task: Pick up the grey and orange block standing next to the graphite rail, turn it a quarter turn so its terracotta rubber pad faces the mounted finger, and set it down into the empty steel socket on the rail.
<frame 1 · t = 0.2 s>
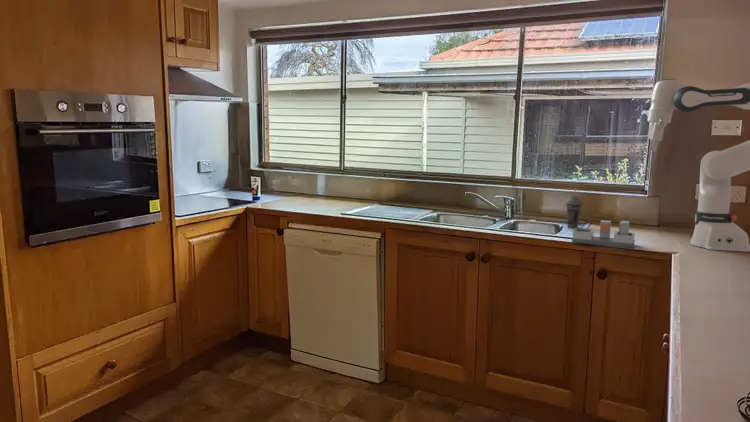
hand: (652, 150, 228), 39 cm above the counter, tool pointing down, fingers open, 8 cm apart
mounted finger: (623, 240, 223), resting on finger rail
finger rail: (602, 243, 227), on the counter
beverage cup: (572, 227, 262), on the counter
grey and orange block: (604, 239, 236), on the counter
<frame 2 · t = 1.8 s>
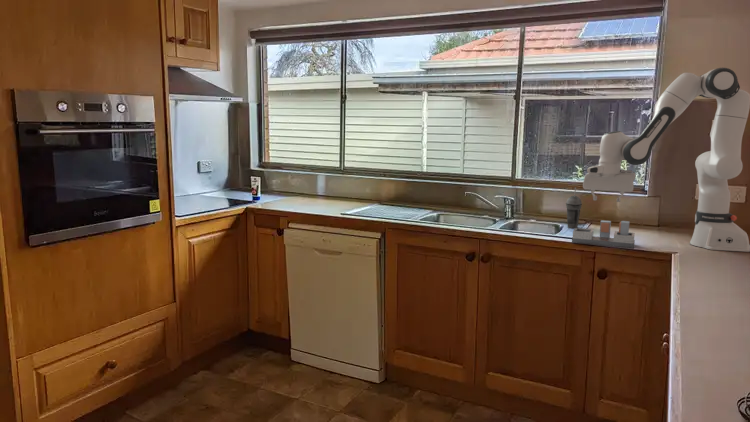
hand: (606, 200, 233), 17 cm above the counter, tool pointing down, fingers open, 8 cm apart
nothing on the counter moved.
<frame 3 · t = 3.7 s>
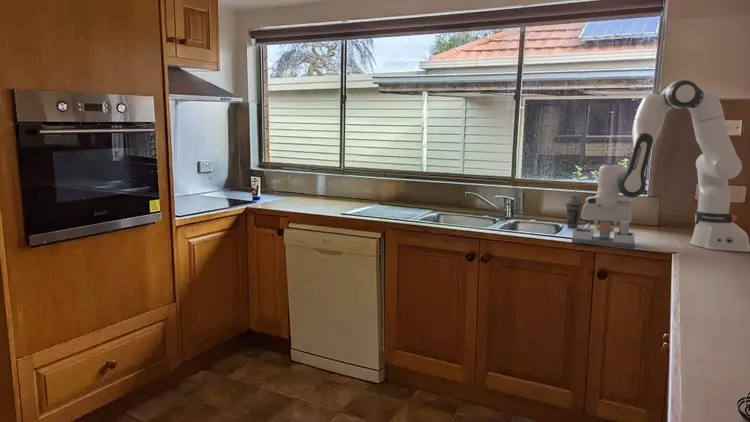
hand: (605, 231, 235), 4 cm above the counter, tool pointing down, fingers closed on grey and orange block, 4 cm apart
grey and orange block: (604, 239, 236), on the counter, touching gripper
everything else where it was.
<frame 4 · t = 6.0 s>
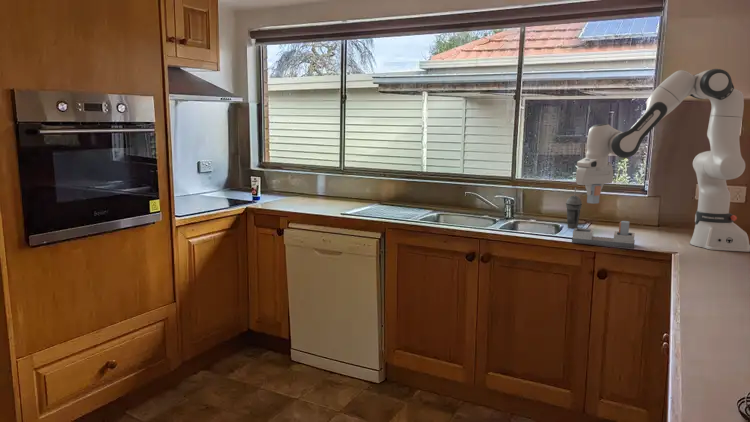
hand: (593, 194, 230), 20 cm above the counter, tool pointing down, fingers closed on grey and orange block, 4 cm apart
grey and orange block: (592, 202, 231), point 16 cm above the counter, touching gripper
everything else where it was.
when the fingers open (7 cm above the counter, at t = 8.5 s): grey and orange block drops 1 cm, resting on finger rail.
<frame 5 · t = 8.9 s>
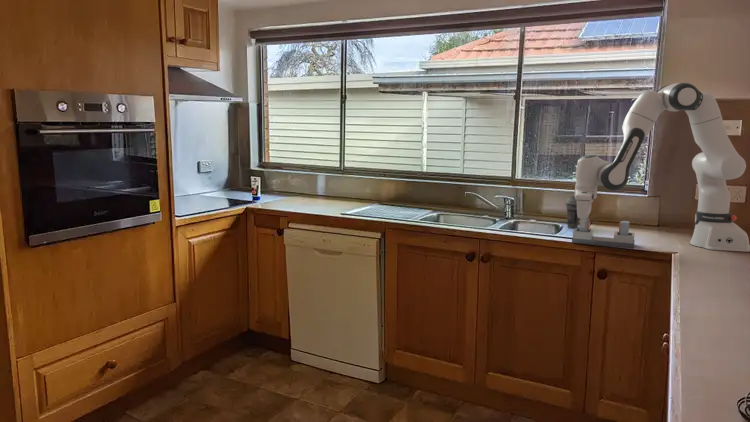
hand: (583, 225, 229), 7 cm above the counter, tool pointing down, fingers open, 8 cm apart
grey and orange block: (583, 237, 230), point 2 cm above the counter, touching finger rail
everything else where it was.
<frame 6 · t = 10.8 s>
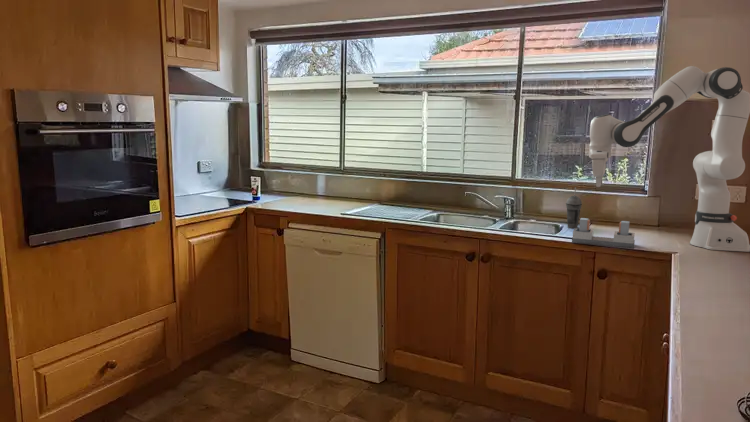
hand: (599, 185, 231), 24 cm above the counter, tool pointing down, fingers open, 8 cm apart
nothing on the counter moved.
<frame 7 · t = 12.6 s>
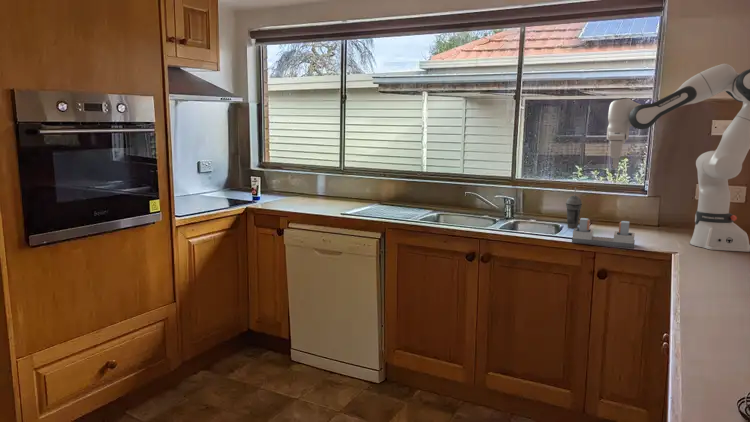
hand: (615, 167, 237), 31 cm above the counter, tool pointing down, fingers open, 8 cm apart
nothing on the counter moved.
at the end: grey and orange block 0.0 cm from the target spot on the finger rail, point 2.0 cm above the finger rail's base; grey and orange block tilted 0°; the gripper is holding nothing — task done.
